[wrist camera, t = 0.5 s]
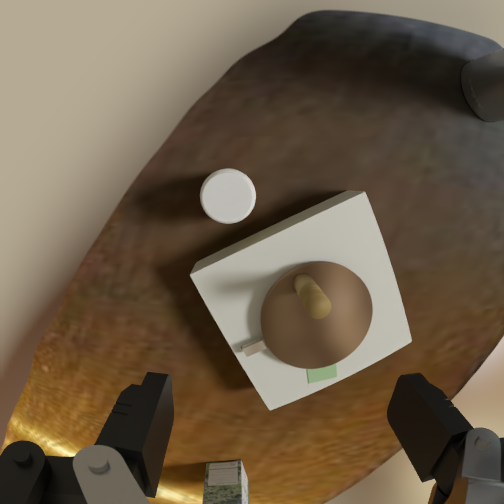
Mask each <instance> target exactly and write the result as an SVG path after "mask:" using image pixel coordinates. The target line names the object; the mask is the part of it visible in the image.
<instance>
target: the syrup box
mask: <svg viewBox="0 0 504 504" xmlns="http://www.w3.org/2000/svg"><path fill="white" fill-rule="evenodd" d="M203 504H249V494H248V478H247V475H246V473H245V470H244V467H243V464H242V461H241V460H236V461H226V462H212V463H206V473H205V482H204V493H203Z"/></svg>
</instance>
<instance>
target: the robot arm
mask: <svg viewBox="0 0 504 504" xmlns="http://www.w3.org/2000/svg"><path fill="white" fill-rule="evenodd" d="M461 85H462V89H463V92H464V95H465V98H466V100H467V102H468V104H469V105H470V107H471V108H472V110H473V111H474V112H475V113H476V115H478V116H479V117H480V118H481V119H483V120H484V121H487V122H497V121H503V120H504V48H503V49H500V50H498V51H495V52H493V53H490V54H488V55H485V56H483V57H480V58H478V59H476V60H473V61H471V62H469V63H467V64H465V65H464V67H463V69H462V72H461ZM387 418H388V422H389V424H390V426H391V427H392V429H393V431H394V433H395V434H396V436H397V438H398V440H399V442H400V443H401V445H402V447H403V449H404V450H405V452H406V454H407V456H408V458H409V460H410V461H411V463H412V465H413V467H414V468H415V470H416V472H417V474H418V476H419V478H420V480H421V481H422V482H425V481H428V480H432V479H435V480H436V483H435V484H434V486H433V488H432V491H431V495H430V498H429V502H428V504H504V438H499V437H498V436H497V435H496V434H495V433H494V432H493V431H491V430H489V429H486V428H473V427H472V426H471V424H470V423H469V422H468V421H467V420H466V419H465V417H464V416H463V415H462V414H461V413H460V411H459V410H458V409H457V408H456V407H454V405H453V403H452V402H451V401H450V400H448V397H447V396H446V395H445V394H444V393H443V392H442V390H440V389H439V388H437V387H435V386H434V385H432V384H430V383H429V382H428V381H427V380H426V379H425V377H424V376H423V375H422V374H421V373H414V374H406V375H401V376H400V377H399V378H398V380H397V383H396V386H395V389H394V392H393V395H392V397H391V400H390V403H389V406H388V409H387ZM173 420H174V406H173V395H172V383H171V376H170V374H161V373H153V372H147V374H146V376H145V378H144V380H143V382H142V385H134V384H131V385H130V386H129V387H127V388H126V389H125V390H123V391H122V392H121V394H120V396H119V397H118V399H117V401H116V405H114V407H113V409H112V413H110V415H109V417H108V419H107V421H106V423H105V425H104V427H103V429H102V431H101V433H100V435H99V437H98V439H97V441H96V443H95V444H94V445H93V446H88V447H85V448H83V449H82V450H80V451H79V452H78V453H77V454H76V455H75V456H74V457H60V456H45V454H44V452H43V450H42V449H41V447H39V446H38V445H37V444H35V443H33V442H30V441H17V442H14V443H11V444H10V445H8V446H7V447H6V448H5V449H4V451H3V452H2V454H1V456H0V504H150V502H149V501H148V499H147V498H146V496H147V497H152V498H155V496H156V492H157V487H158V483H159V479H160V475H161V470H162V466H163V462H164V458H165V454H166V450H167V446H168V442H169V438H170V434H171V430H172V426H173Z"/></svg>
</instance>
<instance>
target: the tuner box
mask: <svg viewBox="0 0 504 504" xmlns="http://www.w3.org/2000/svg"><path fill="white" fill-rule="evenodd" d="M316 261H327V262H333V263H337V264H340V265H342V266H345V267H346V268H348V269H350V270H351V271H352V272H354V273H355V274H356V275H357V276H358V277H360V278H361V280H362V281H363V282H364V283H365V285H366V287H367V288H368V290H369V293H370V295H371V299H372V306H373V314H372V321H371V324H370V328H369V330H368V332H367V334H366V336H365V338H364V340H363V341H362V342H361V344H360V345H359V346H358V347H357V348H356V350H355V351H353V352H352V353H351V354H350V355H349V356H347V357H346V358H345V359H343V360H341V361H339V362H338V363H335V364H333V365H330V366H327V367H323V368H318V369H302V368H297V367H294V366H290V365H288V364H286V363H284V362H282V361H281V360H279V359H278V358H277V357H276V356H275V355H274V354H273V353H272V352H271V351H270V350H269V348H267V349H265V350H262V351H260V352H258V353H255V354H253V355H250V356H248V357H247V356H246V355H245V353H244V351H243V350H242V346H244V345H246V344H248V343H251V342H253V341H255V340H258V339H260V338H262V337H263V334H262V329H261V322H260V318H261V309H262V305H263V302H264V299H265V297H266V295H267V293H268V291H269V290H270V288H271V287H272V286H273V284H274V283H275V282H276V281H277V280H278V279H279V278H280V277H281V276H282V275H284V274H285V273H286V272H288V271H289V270H291V269H293V268H295V267H297V266H299V265H302V264H305V263H309V262H316ZM190 276H191V278H192V280H193V282H194V284H195V286H196V287H197V289H198V291H199V293H200V295H201V297H202V298H203V300H204V302H205V304H206V305H207V307H208V309H209V311H210V313H211V314H212V316H213V318H214V320H215V321H216V323H217V325H218V327H219V328H220V330H221V332H222V333H223V335H224V337H225V339H226V340H227V342H228V344H229V345H230V347H231V349H232V350H233V352H234V354H235V355H236V357H237V359H238V360H239V362H240V364H241V365H242V367H243V369H244V370H245V372H246V374H247V375H248V377H249V378H250V380H251V382H252V383H253V385H254V387H255V388H256V390H257V391H258V393H259V394H260V396H261V398H262V399H263V401H264V402H265V404H266V405H267V407H268V409H269V410H273V409H275V408H278V407H280V406H283V405H285V404H288V403H290V402H293V401H295V400H297V399H300V398H302V397H305V396H307V395H309V394H311V393H314V392H316V391H318V390H320V389H323V388H325V387H327V386H329V385H331V384H333V383H336V382H338V381H340V380H342V379H344V378H346V377H348V376H350V375H352V374H354V373H356V372H358V371H360V370H362V369H364V368H366V367H368V366H370V365H371V364H373V363H375V362H377V361H379V360H381V359H383V358H384V357H386V356H388V355H390V354H391V353H393V352H395V351H397V350H398V349H400V348H402V347H404V346H405V345H407V344H409V343H410V342H412V339H411V335H410V331H409V327H408V323H407V319H406V315H405V311H404V307H403V304H402V300H401V296H400V293H399V289H398V286H397V282H396V279H395V276H394V273H393V269H392V266H391V263H390V260H389V257H388V254H387V251H386V248H385V245H384V242H383V239H382V236H381V233H380V230H379V227H378V224H377V222H376V219H375V216H374V214H373V211H372V208H371V206H370V203H369V200H368V198H367V195H366V193H365V192H363V191H349V190H347V191H345V192H343V193H341V194H338V195H336V196H334V197H332V198H330V199H328V200H326V201H323V202H321V203H319V204H317V205H315V206H313V207H311V208H308V209H306V210H304V211H302V212H300V213H298V214H296V215H293V216H291V217H289V218H287V219H285V220H283V221H281V222H279V223H277V224H274V225H272V226H270V227H268V228H266V229H264V230H262V231H260V232H258V233H255V234H253V235H251V236H249V237H247V238H245V239H243V240H241V241H239V242H237V243H235V244H232V245H230V246H228V247H226V248H224V249H222V250H220V251H218V252H216V253H214V254H212V255H210V256H208V257H205V258H203V259H201V260H199V261H197V262H196V264H195V266H194V268H193V269H192V271H191V273H190Z"/></svg>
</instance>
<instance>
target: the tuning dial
mask: <svg viewBox="0 0 504 504" xmlns="http://www.w3.org/2000/svg"><path fill="white" fill-rule="evenodd" d="M372 314H373V306H372V299H371V295H370V293H369V290H368V288H367V287H366V285H365V283H364V282H363V281H362V280H361V278H360V277H358V276H357V275H356V274H355V273H354V272H352V271H351V270H350V269H348V268H346V267H345V266H342V265H340V264H337V263H333V262H327V261H316V262H309V263H305V264H302V265H299V266H297V267H295V268H293V269H291V270H289V271H288V272H286V273H285V274H284V275H282V276H281V277H280V278H279V279H278V280H277V281H276V282H275V283H274V284H273V286H272V287H271V288H270V290H269V291H268V293H267V295H266V297H265V299H264V302H263V305H262V309H261V318H260V322H261V329H262V334H263V337H262V338H260V339H258V340H255V341H253V342H251V343H248V344H246V345H244V346H242V350H243V351H244V353H245V355H246V356H247V357H248V356H250V355H253V354H255V353H258V352H260V351H262V350H265V349H267V348H269V350H270V351H271V352H272V353H273V354H274V355H275V356H276V357H277V358H278V359H279V360H281V361H282V362H284V363H286V364H288V365H290V366H294V367H297V368H302V369H318V368H323V367H327V366H330V365H333V364H335V363H338V362H339V361H341V360H343V359H345V358H346V357H347V356H349V355H350V354H351V353H352V352H353V351H355V350H356V348H357V347H358V346H359V345H360V344H361V342H362V341H363V340H364V338H365V336H366V334H367V332H368V330H369V328H370V324H371V321H372Z"/></svg>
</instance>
